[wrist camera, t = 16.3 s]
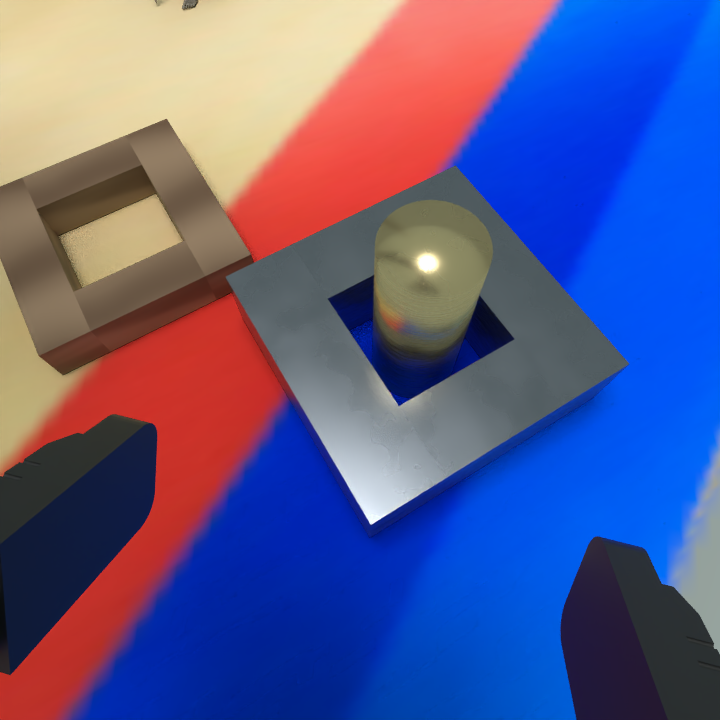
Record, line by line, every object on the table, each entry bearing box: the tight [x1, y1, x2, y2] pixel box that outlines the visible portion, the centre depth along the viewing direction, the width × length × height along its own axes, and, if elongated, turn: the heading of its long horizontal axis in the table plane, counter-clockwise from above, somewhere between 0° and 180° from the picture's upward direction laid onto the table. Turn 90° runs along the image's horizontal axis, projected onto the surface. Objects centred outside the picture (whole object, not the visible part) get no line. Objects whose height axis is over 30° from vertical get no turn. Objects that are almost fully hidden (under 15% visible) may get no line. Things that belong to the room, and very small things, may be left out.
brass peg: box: [372, 200, 493, 398], centre depth 26 cm, size 4×4×10 cm
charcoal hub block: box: [226, 166, 629, 537], centre depth 29 cm, size 14×14×4 cm
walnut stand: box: [0, 119, 253, 375], centre depth 33 cm, size 12×12×2 cm
